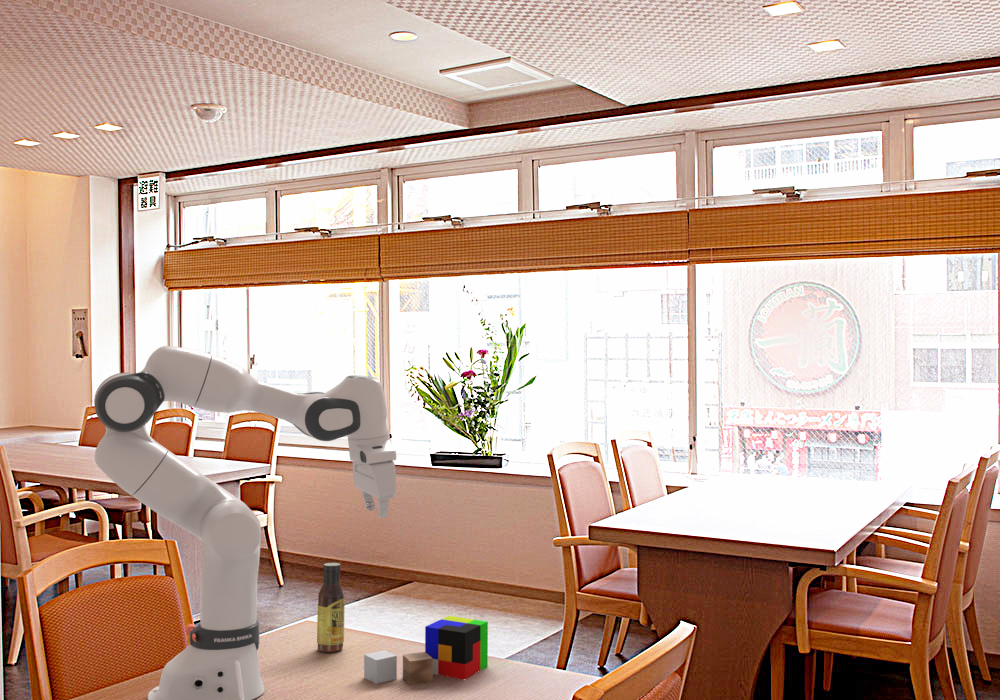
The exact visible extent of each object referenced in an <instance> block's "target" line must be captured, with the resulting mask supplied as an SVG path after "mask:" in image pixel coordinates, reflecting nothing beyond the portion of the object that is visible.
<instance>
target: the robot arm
mask: <svg viewBox="0 0 1000 700" xmlns="http://www.w3.org/2000/svg"><path fill="white" fill-rule="evenodd" d="M164 402H176V403H180V404H184V405H187V406H189V407H192V408H196V409H199V410H200V409H201V410H204V411H208V412H209V411H210V412H216V413H225V414H226V413H227V414H230V413H234V412H240V411H246V412H247V411H250V412H255V413H258V414H263V415H266V416H270V417H272V418H276V419H280V420H283V421H286V422H289V423H290V424H291V425H293V426H294V427H295V428H296V429H298V431H300V432H301V433H303V434H304V435H305V436H307V437H310V438H312V439H315V440H316V441H320V442H332V441H335V440H337V439H340V438H343V437H347V441H348V450H349V460H350V461H351V462H352V476H353V483H354V484H353V485H354V487H355V488H356V489H358V490H360V491H361V496H362V499H363V501H364V506H365V507H364V508H365V510H366V511H368V512H371V511H375V510H376V504H375V503H376V502H377V504H378V505H377V508H378V509H377V515H378V517H379V518H380V519H384V518H388V517H389V510H388V509H389V503H390V500H389V499H392V498H395V496H396V493H397V475H396V464H395V461H396V460H397V452H396V450H395V448H394V446H393V445H392V442H391V438H390V437H391V436H390V431H389V428H388V426H387V425H388V424H387V417H388V410H387V408H388V407H387V403H386V402H387V401H386V396H385V392H384V388H383V384H382V382H381V381H380V380H379V379H378V378H376V377H374V376H366V375H348V376H346V377H345V378H344V379H343V380H342V381H341V382H339V383H337V385H335V387H333V388H331V389H329V390H328V391H326V392H322V391H312V392H311V391H310V392H305V393H301V392H300V393H297V392H294V391H291V390H287V389H283V388H281V387H276V386H274V385H270V384H268V383H265V382H262V381H260V380H259V379H256V378H255V377H254V376H252V375H251V374H250V373H249V372H247V370H246V369H244V368H242V367H241V366H239V365H237V364H236V363H233V362H231V361H229V360H227V359H225V358H222V357H220V356H216V355H214V354H211V353H207V352H203V351H199V350H196V349H191V348H186V347H181V346H180V347H179V346H172V345H164V346H160V347H158V348H157V349H154V351H153V352H152V353H151V355H150V356H149V358H148V359H147V361H146V363H145V365H144V367H143V369H142V370H140V371H139V372H135V373H132V372H120V373H118V372H117V373H115V374H113V375H110V376H108V377H107V378H105V379H104V380H103V381H102V382H101V383H100V384H99V386H98V387H97V389H96V391H95V394H94V400H93V405H94V410H95V414H96V416H97V418H98V419H99V421H100V422H101V423H102V424H103V425H104V426H105V432H104V435H103V436H102V438H101V439H100V440H99V442H98V444H97V446H96V449H95V452H94V461H95V464H96V466H97V467H98V468H99V469H100V470H101V471H102V472H103V474H105V475H106V476H107V478H109V479H110V480H111V481H112V482H113V483H114V484H115V485H117V486H118V487H119V488H120V489H122V490H123V491H124V492H126V493H127V494H129V495H130V496H131V497H133V498H134V499H136V500H138V501H139V502H140V503H141V504H143V505H145V506H146V507H147V508H148V509H151V511H153V512H155V513H156V514H157V515H159V516H160V517H162V518H164V519H165V520H167V521H168V522H171V523H172V524H175V525H176V526H178V528H179V527H180V529H182V530H184V531H186V532H188V533H189V534H190V535H192V536H193V537H195V538H197V539H199V540H200V541H201V542H202V544H203V545H202V548H203V550H202V567H201V581H200V607H199V608H200V609H199V610H200V616H199V617H200V619H199V620H200V623H199V624H198V625H197V626H196V625H195V624H193V623H189V624H187V625H186V627H185V632H186V635H187V636H189V645H188V646H187V647H185V648H184V649H182V650H181V652H179V653H178V654H177V655H176V656H174V657H173V658H172V659H170V660H169V661H168V662H167V663H166V664H165V665H164V666H163V669H162V672H161V674H160V675H161V676H160V681H159V683H158V684H159V685H157V686H155V687H154V688H152V689H151V690H149V692H148V695H147V700H255V699H256V698H258V697H260V696H262V694H264V692H265V689H266V688H265V685H264V682H263V678H262V674H261V669H260V662H259V652H258V651H259V648H260V647H259V646H260V623H259V621H258V617H257V616H258V615H257V613H258V610H257V609H258V598H257V597H258V577H259V568H260V557H261V543H262V542H261V541H262V540H261V539H262V525H261V522H260V520H259V518H258V516H257V515H256V514H255V513H254V511H252V509H251V508H250V507H249V506H248V505H247V504H246V503H245V502H243V501H242V500H241V499H240V498H238V497H236V496H235V495H233V494H232V493H231V492H230V491H228V490H226V489H225V488H224V487H222V486H220V484H218V483H216V482H215V481H214V480H212V479H210V477H209V478H208V477H207V476H206V475H204V474H203V473H201V472H199V470H197V469H196V468H194V467H193V466H191V465H190V464H188V462H186V461H184V460H183V459H182V458H180V457H179V456H178V455H176V454H175V453H173V452H172V451H170V450H169V449H168V448H166V447H165V446H163V445H162V444H160V443H159V442H158V441H156V440H155V439H154V438H152V437H151V435H150V434H149V433H148V431H147V428H146V424H147V423H149V421H150V420H151V419H152V418H153V416H154V415H155V413H156V412H157V410H159V408H160V406H161V405H163V403H164ZM374 498H376V500H377V501H376V502H375V501H374Z"/></svg>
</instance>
